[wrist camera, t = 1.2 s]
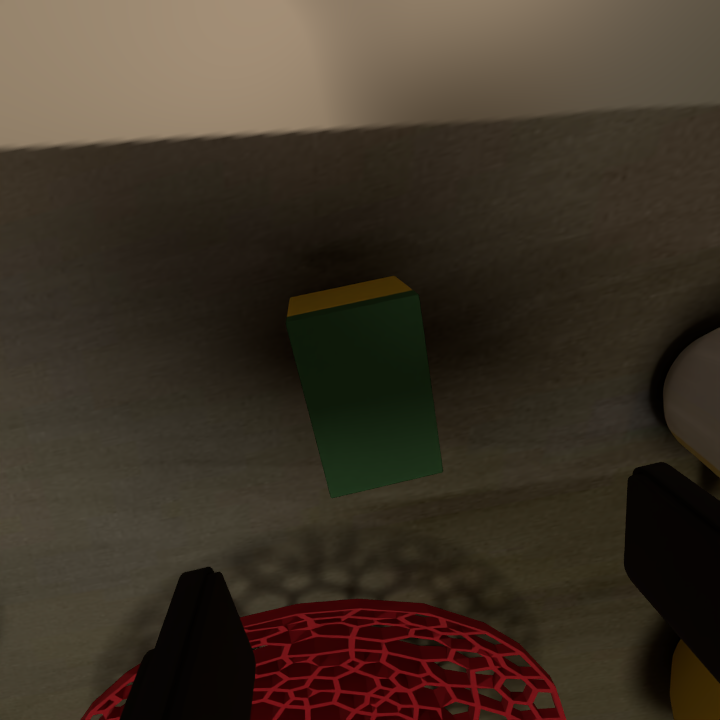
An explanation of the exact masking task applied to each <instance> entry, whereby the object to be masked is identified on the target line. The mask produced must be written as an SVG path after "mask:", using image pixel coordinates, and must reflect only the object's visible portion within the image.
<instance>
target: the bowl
mask: <svg viewBox="0 0 720 720" xmlns="http://www.w3.org/2000/svg"><path fill="white" fill-rule="evenodd" d="M414 614H421V615H426V616H431V617H425V618H424V617H420V616H416V615H414ZM240 620H241V622H242V625H243V627H244V630H245V632H246V635H247V637H248V640H249V642H250V645H251V647H252V648H255V647H258V646H262V645H268V646H265V647H262V648H259V649H256V650H253V652H254V655H255V662H256V673H255V682H254V690H253V699H252V707H251V716H250V720H479V715H480V709H483V710H487V711H490V712H494V713H497V714H500V715H504V716H506V718H507V720H566V717H565V714H564V711H563V708H562V705H561V702H560V699H559V696H558V693H557V690H556V687H555V685H554V683H553V681H552V679H551V677H550V676H549V675H548V674H547V673H546V671H545V670H544V669H543V668H542V667H541V666H540V665H539V664H538V663H537V662H536V661H535V660H534V659H533V658H532V657H531V656H530V654H529V653H528V652H527V651H526V650H525V649H524V648H523V647H522V646H521V645H520V644H519V643H517V642H516V641H514V640H512V639H511V638H509V637H507V636H506V635H504V634H502V633H501V632H499V631H497V630H496V629H494V628H492V627H491V626H489V625H487V624H486V623H484V622H481V621H478V620H474V619H471V618H468V617H465V616H462V615H459V614H456V613H452V612H449V611H446V610H443V609H440V608H437V607H433V606H430V605H427V604H424V603H411V602H397V601H383V600H369V599H348V600H337V601H325V602H313V603H301V604H295V605H291V606H286V607H282V608H278V609H274V610H270V611H265V612H261V613H257V614H253V615H249V616H244V617H240ZM376 624H379V625H391V627H383V628H379V627H371V625H376ZM474 634H487V635H488V636H490V637H492V638H493V639H495V640H497V641H499V642H500V643H502V644H497V645H494V644H492V643H490V642H488V641H486V640H483V639H481V638H479V637H477V636H475V635H474ZM446 635H462V636H463V637H464V638H466V639H455V638H450V637H448V636H446ZM409 637H414V638H422V639H430V640H435V641H437V642H439V643H441V644H443V645H445V646H418V645H414V644H411V643H407V642H403V641H399V640H400V639H405V638H409ZM456 651H464V652H476V653H478V654H480V655H482V656H483V657H475V658H468V657H466V656H464V655H462V654H460V653H458V652H456ZM512 655H520V656H521V657H522V658H523V659H524V660H525V661H526V662H527V663H528V664H529V665H530V666H531V667H519V666H517V665H515V664H514V663H512V662H511V661H509V660H507V659H506V658H504V657H503V656H512ZM438 661H450V662H453V663H455V664H457V665H460V666H462V667H464V668H466V672H467V673H464V672H458V671H452V670H445V669H442V668H441V667H440V666H438V665H437V664H436V663H434V662H438ZM140 664H141V663H140ZM140 664H139V665H137V666H136V667H134V668H132V669H131V670H129V671H128V672H126V673H125V674H124V675H123V676H122V677H120V678H119V679H118V680H117V681H116V682H115V683H114V684H113V685H112V686H110V687H109V688H108V689H107V690H106V691H105V692H104V693H103V694H102V695H101V696H99V697H98V698H97V699H96V700H95V701H94V702H93V703H92V704H91V706H90V707H89V709H88V710H87V711H86V713H85V714H84V716H83V717H82V719H81V720H90V719H91V717H92V716H93V715H96V714H103V716H102V717H101V718H100V719H99V720H119V719H120V716H121V714H122V711H123V708H124V706H125V704H124V705H123V706H121V707H115V705H117V704H118V703H119V702H120V701H122V700H123V699H127V698H128V695H129V692H130V690H131V687H132V685H130V686H126V685H127V684H128V683H130V682H134V679H135V676H136V674H137V671H138V668H139V666H140ZM490 669H492V670H493V671H494V672H495V673H494V675H483V674H475V672H477V671H484V670H490ZM506 679H522V680H523V681H524V682H525V683H526V686H525V689H524V691H523V692H510V691H509V690H508V689H507V688H506V687H505V686H504V685H503V683H504V681H505V680H506ZM534 679H544V680H534ZM426 685H432V686H440V687H438V688H436V689H433V690H432V689H428V688H425V687H424V686H426ZM465 688H470V690H468V689H465ZM477 688H494V689H495V690H496V691H497V692H498V693H500V694H501V695H502V696H503V697H502V700H501V702H500V701H497V700H494V699H492V698H489V697H486V696H484V695H481V694H478V690H477ZM538 692H548V693H551V695H552V699H553V702H554V705H555V708H547V709H537V707H536V706H535V704H534V703H533V702H534V700H535V697H536V695H537V693H538ZM454 702H459V703H463V704H467V705H469V709H468V712H464V713H459V714H455V715H452V714H451V713H450V712H448V711H447V710H446V709H445V708H443V707H445V706H447V705H449V704H452V703H454ZM514 704H523V705H528V706H529V708H530V709H531V710H526V711H519V710H517V709H515V708H513V705H514Z"/></svg>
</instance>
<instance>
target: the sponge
mask: <svg viewBox="0 0 720 720" xmlns="http://www.w3.org/2000/svg"><path fill="white" fill-rule="evenodd" d="M286 327H287V331H288V335H289V339H290V343H291V346H292V350H293V354H294V358H295V362H296V366H297V369H298V373H299V377H300V381H301V385H302V389H303V393H304V396H305V400H306V404H307V408H308V412H309V416H310V419H311V423H312V427H313V431H314V435H315V439H316V442H317V446H318V450H319V454H320V458H321V462H322V466H323V469H324V473H325V477H326V481H327V485H328V489H329V492H330V496H331V498H335V497H340V496H344V495H348V494H352V493H357V492H361V491H365V490H369V489H374V488H378V487H382V486H386V485H391V484H395V483H399V482H403V481H408V480H412V479H416V478H420V477H425V476H429V475H433V474H437V473H442V472H443V467H442V460H441V452H440V445H439V438H438V431H437V423H436V416H435V409H434V401H433V394H432V387H431V379H430V372H429V365H428V358H427V350H426V343H425V336H424V328H423V321H422V314H421V307H420V299H419V295H418V294H417V293H416V292H415V291H413V290H412V289H411V288H409V287H408V286H407V285H406V284H404V283H403V282H402V281H401V280H399V279H398V278H397V277H395V276H390V277H385V278H381V279H376V280H371V281H366V282H362V283H357V284H352V285H347V286H343V287H338V288H333V289H328V290H324V291H319V292H314V293H309V294H305V295H300V296H295V297H291V298H290V301H289V307H288V313H287V318H286Z"/></svg>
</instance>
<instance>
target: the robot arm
mask: <svg viewBox="0 0 720 720" xmlns="http://www.w3.org/2000/svg"><path fill="white" fill-rule="evenodd" d="M624 567H625V570H626V573H627V575H628V577H629V578H630V580H631V581H632V582H633V584H634V585H635V586H636V587H637V588H638V589H639V591H640V592H641V593H642V594H643V595H644V596H645V598H646V599H647V600H648V601H649V602H650V603H651V604H652V606H653V607H654V608H655V609H656V610H657V611H658V613H659V614H660V615H661V616H662V617H663V618H664V620H665V621H666V622H667V623H668V624H669V625H670V627H671V628H672V629H673V630H674V631H675V632H676V634H677V635H678V636H679V637H680V638H681V639H682V640H683V642H684V643H685V644H686V645H687V646H688V647H689V649H690V650H691V651H692V652H693V653H694V654H695V656H696V657H697V658H698V659H699V660H700V661H701V663H702V664H703V665H704V666H705V667H706V668H707V669H708V671H709V672H710V673H711V674H712V675H713V676H714V678H715V679H716V680H717V681H718V682H719V683H720V501H719V500H718V499H716V498H715V497H713V496H712V495H711V494H709V493H708V492H706V491H705V490H704V489H702V488H701V487H699V486H698V485H697V484H695V483H694V482H692V481H691V480H690V479H688V478H687V477H685V476H684V475H683V474H681V473H680V472H678V471H677V470H676V469H674V468H673V467H671V466H670V465H668V464H666V463H664V462H659V463H654V464H650V465H646V466H642V467H638V468H635V469H634V471H633V475H632V476H630V477H629V478H628V487H627V508H626V529H625V551H624ZM255 673H256V662H255V655H254V652H253V649H252V647H251V645H250V642H249V640H248V637H247V635H246V632H245V630H244V627H243V625H242V622H241V620H240V617H239V615H238V612H237V610H236V607H235V605H234V602H233V600H232V597H231V595H230V592H229V590H228V587H227V585H226V582H225V580H224V577H223V575H222V573H221V572H216V573H214V571H213V569H212V568H211V567H206V568H202V569H197V570H193V571H189V572H185V573H183V574H182V575H181V576H180V578H179V581H178V584H177V586H176V589H175V592H174V595H173V598H172V600H171V603H170V606H169V609H168V612H167V615H166V617H165V620H164V623H163V626H162V629H161V631H160V634H159V637H158V640H157V643H156V646H155V648H154V649H152V650H149V651H148V652H147V653H146V655H145V656H144V657H143V659H142V661H141V664H140V666H139V668H138V671H137V674H136V676H135V679H134V682H133V684H132V687H131V690H130V692H129V695H128V698H127V700H126V703H125V706H124V708H123V711H122V714H121V716H120V719H119V720H250V716H251V707H252V699H253V690H254V682H255Z"/></svg>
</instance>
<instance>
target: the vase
mask: <svg viewBox="0 0 720 720" xmlns="http://www.w3.org/2000/svg"><path fill="white" fill-rule="evenodd" d="M670 700H671V705H672V711H673V717H674V720H720V683H719V682H718V681H717V680H716V679H715V678H714V676H713V675H712V674H711V673H710V672H709V671H708V669H707V668H706V667H705V666H704V665H703V664H702V663H701V661H700V660H699V659H698V658H697V657H696V656H695V654H694V653H693V652H692V651H691V650H690V649H689V647H688V646H687V645H686V644H685V643H684V642H683V640H682V639H681V640H680V641H679V642H678V644H677V647H676V649H675V651H674V654H673V657H672V668H671V681H670Z"/></svg>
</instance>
